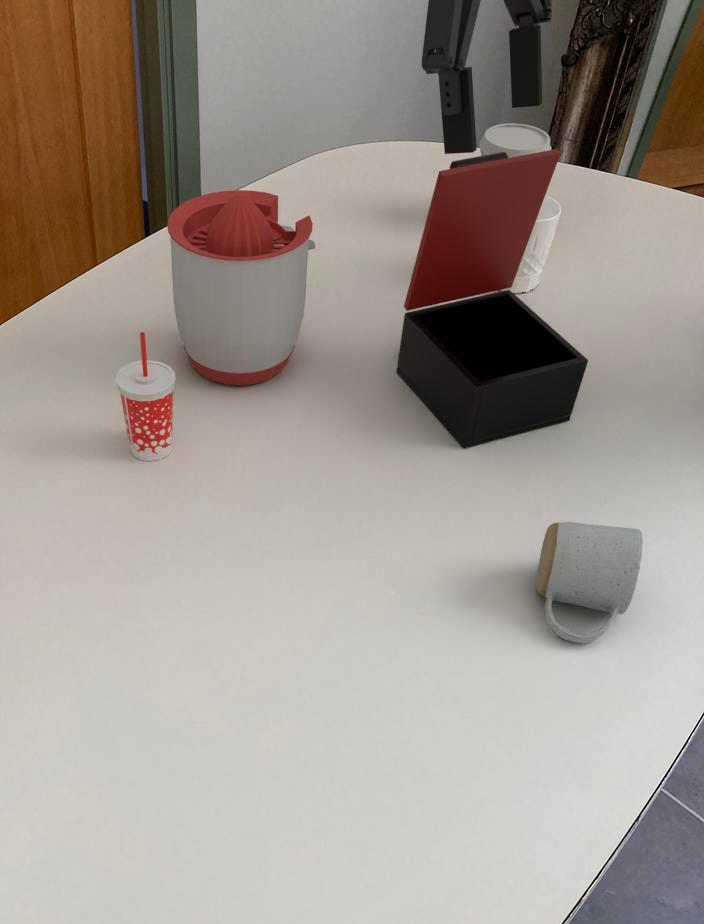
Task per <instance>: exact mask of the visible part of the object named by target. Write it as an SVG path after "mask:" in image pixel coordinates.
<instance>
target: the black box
mask: <svg viewBox="0 0 704 924" xmlns="http://www.w3.org/2000/svg"><path fill="white" fill-rule="evenodd" d="M398 349H399V350H398V356H397V364H396V369H395V371H396V374H397V375H398V376H399V378H400V379H401V380H402V381H403V382H404V383H405V384H406V385H407V386H408V388H409V389H410V390H411V391H412V392H413V393H414V394H415V396H417V398H418V399H419V400H420V401H421V402H422V403H423V405H424V406H425V407H426V408H427V409H428V410H429V411H430V413H431V414H432V415H433V416H434V417H435V418H436V419H437V420H438V421H439V423H440V424H441V425H442V426H443V427H444V429H445V430H446V431H447V432H448V433H449V434H450V435H451V436H452V438H453V439H454V440H456V442H457V443H458V444H459V445H460V446H461V447H462V448H463V449H467V448H468V449H469V448H472V447H475V446H479V445H483V444H487V443H490V442H493V441H498V440H502V439H506V438H510V437H513V436H516V435H517V436H518V435H520V434H524V433H528V432H532V431H536V430H540V429H543V428H546V427H547V428H548V427H550V426H551V427H552V426H555V425H558V424H562V423H565V422H566V423H567V422H569V421H570V420H571V417H572V414H573V411H574V408H575V404H576V401H577V398H578V395H579V392H580V389H581V386H582V382H583V379H584V375H585V373H586V369H587V366H588V363H589V359H588V358H586V357H585V356H584V355H583V354H582V353H581V352H580V351H579V350H578V349H577V348H575V346H573V345H572V344H571V343H570V342H569V341H568V340H566V339H565V338H564V337H563V336H562V335H561V334H560V333H559V332H557V330H555V329H554V328H553V327H551V325H549V323H547V322H546V321H545V320H544V319H543V318H542V317H541V316H539V315H538V314H537V313H536V312H535V311H534V310H533V309H532V308H530V306H528V305H527V304H526V303H525V302H524V301H523V300H521V299H520V298H519V297H518V296H517V295H516V293H512V292H511V291H510V290H504V291H501V290H499V291H495V292H490V293H486V294H481V295H477V296H472V297H468V298H463V299H459V300H455V301H450V302H446V303H441V304H437V305H432V306H428V307H423V308H419V309H414V310H410V311H406V312H404V316H403V322H402V330H401V336H400V344H399V348H398Z"/></svg>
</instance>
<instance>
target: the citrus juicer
mask: <svg viewBox="0 0 704 924" xmlns="http://www.w3.org/2000/svg"><path fill="white" fill-rule="evenodd" d="M313 225H314V224H313V221H312V219H311V215H307V216H305V217H303V218H301V219H299V220H297V221H295V225H294V226H295V228H294V227H292V226H289V225H281V224H279V195H277V194H273V193H269V192H266V191H259V190H258V191H257V190H247V189H246V190H245V189H244V190H243V189H236V190H235V189H234V190H233V189H232V190H221V191H215V192H210V193H205V194H202V195H199V196H196V197H194V198H191V199H188V200H187V201H185V202H183V203H181V204H180V205H179V206H178V207H176V208H175V209H174V210H173V211H172V212H171V214H170V216H169V218H168V220H167V224H166V228H167V233H168V234H169V236H170V257H171V258H170V259H171V279H172V280H171V281H172V297H173V299H172V300H173V307H174V314H175V320H176V325H177V328H178V329H177V330H178V333H179V336H180V339H181V342H182V344H183V350H184V352H185V354H186V356H187V357H188V359H189V361H190V363H191V365H192V367H193V369H194V370H195V371H196V372H197V373H198V374H199V375H201V376H203V377H204V378H206V379H208V380H210V381H213V382H215V383H219V384H225V385H227V386H231V387H233V386H234V387H235V386H246V385H247V386H249V385H253V384H259V383H262V382H265V381H268V380H270V379H272V378H274V377H276V376H277V375H279V374H280V373H281V372H282V371H283V370H284V368H285V367H286V365H287V363H288V362H289V360H290V358H291V356H292V354H293V352H294V349H295V347H296V345H295V344H296V342H297V339H298V336H299V334H300V331H301V327H302V324H303V319H304V314H305V306H306V294H307V279H308V277H307V276H308V261H309V251H310V250H315V249H316V243H315V241H314V240H312V239H310V238H311V237H310V236H311V234H312V232H313Z"/></svg>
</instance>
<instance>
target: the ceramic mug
mask: <svg viewBox="0 0 704 924" xmlns="http://www.w3.org/2000/svg"><path fill="white" fill-rule="evenodd" d="M544 534H545V535H544V538H543V541H542V546H541V549H540V554H539V555H540V556H539V560H538V567H537V573H536V580H535V581H536V582H535V589H536V592H537V593H538V595H540V596H541V597H544V598H545V599H546V600H545V605H544V610H545V619H546V622H547V625H548V626H549V628H550V630H551V631H552V632H553V633H554V634H555V635H556V636H558V637H559V638H561V639H563V640H565V641H568V642H571V643H576V644H588V643H592V642H595V641H596V640H598V639H600V638H601V637H603V636H604V634H605V633H606V632H608V630H609V629H610V627H611V625H612V624H613V622H614V620H615V618H616V615H624V614H625V613H626V612H627V610H628V609H629V607H630V605H631V602H632V601H633V597H634V594H635V591H636V586H637V582H638V578H639V574H640V569H641V562H642V555H643V544H644V541H643V540H644V539H643V532H642V530H641V529H639V528H631V527H622V526H611V525H602V524H589V523H584V522H583V523H582V522H574V521H561V522H553V523H551V524H549V526H548V527H547V529H546V531H545V533H544ZM553 601H555V602H559V603H563V604H570V605H575V606H580V607H583V608H588V609H593V610H596V611H601V612H606V613H609V616H608V619H607V621H606V622H605V624H604V625H602V627H599V628H598V629H597V630H594V631H592V632H591V633H588V634H585V635H581V634H578V633H574V632H572V631H570V630H569V629H568V628H567V627H564V626H561V624H560V623H559V622H557V620H556V619H555V616H554V613H553Z"/></svg>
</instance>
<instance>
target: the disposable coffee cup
mask: <svg viewBox="0 0 704 924" xmlns="http://www.w3.org/2000/svg"><path fill="white" fill-rule="evenodd" d="M478 146H479V147H478V148H479V150H480V151H479V152H480V156H483V155H489V154H494V153H499V152H505V153H506V154H507V156H508V158H511V157H517V156H522V155H527V154H533V153H538V152H543V151H549V150H552V146H551V137H550V135H549V134H548V132H546V131H544V130H542V129H541V128H539V127H536V126H533V125H530V124H524V123H514V122H513V123H509V122H508V123H500V124H496V125H493V126H491V127H489V128H487V129H486V130H485V132H484V134H483V136H482V138H481V139H480V140H479V143H478Z"/></svg>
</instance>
